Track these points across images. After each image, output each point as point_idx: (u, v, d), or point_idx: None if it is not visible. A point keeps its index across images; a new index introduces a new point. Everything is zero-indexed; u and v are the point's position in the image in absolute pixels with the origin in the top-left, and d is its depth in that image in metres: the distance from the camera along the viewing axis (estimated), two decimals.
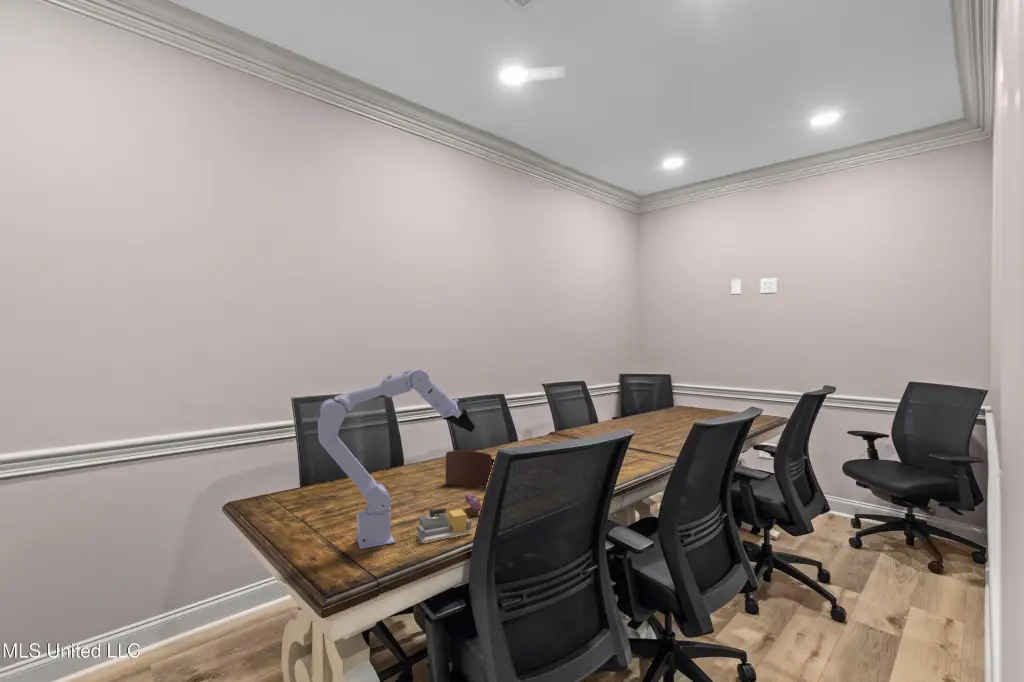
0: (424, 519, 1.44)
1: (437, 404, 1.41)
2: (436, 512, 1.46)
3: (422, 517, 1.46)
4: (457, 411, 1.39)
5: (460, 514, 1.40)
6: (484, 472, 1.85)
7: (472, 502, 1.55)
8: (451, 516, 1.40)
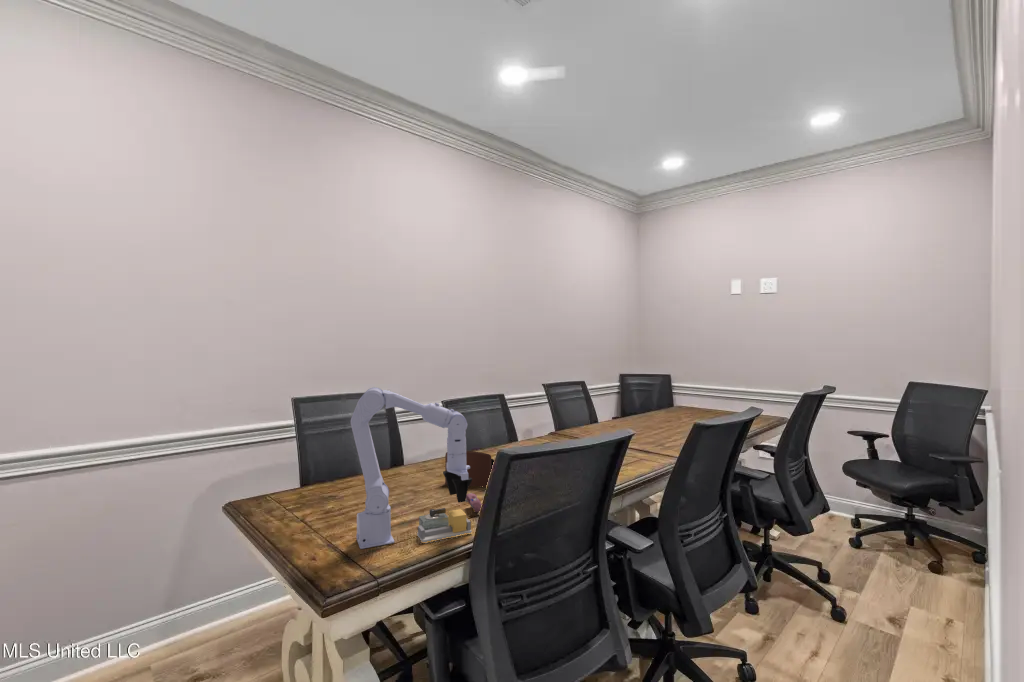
0: (424, 519, 1.44)
1: (454, 455, 1.39)
2: (436, 512, 1.46)
3: (422, 517, 1.46)
4: (466, 474, 1.35)
5: (460, 514, 1.40)
6: (483, 472, 1.85)
7: (472, 502, 1.55)
8: (451, 516, 1.40)
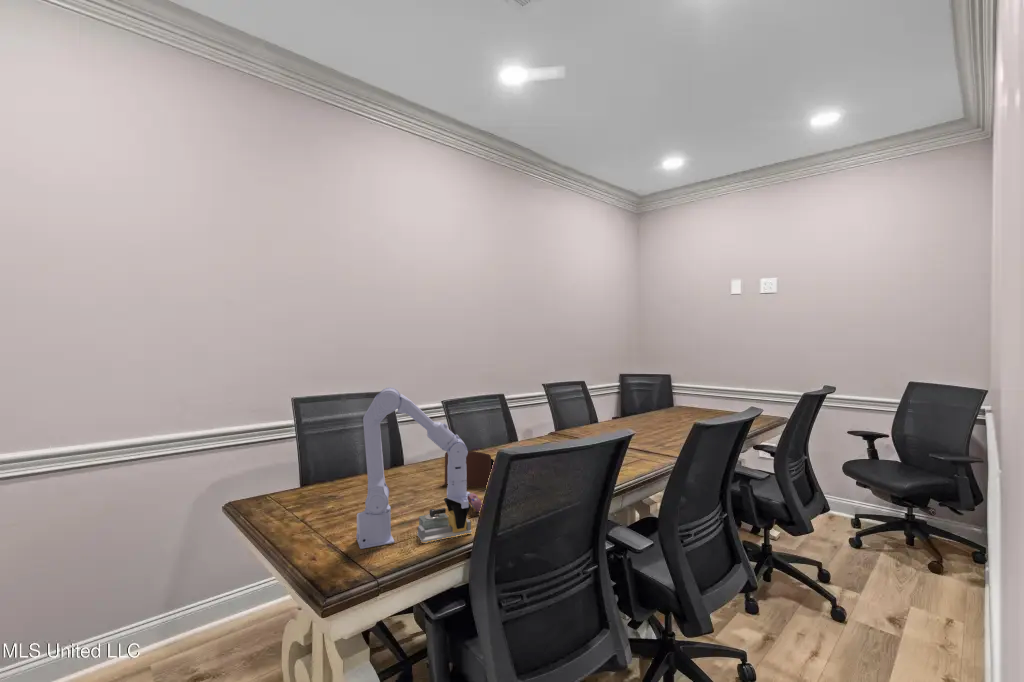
0: (424, 519, 1.44)
1: (454, 483, 1.39)
2: (436, 512, 1.46)
3: (422, 517, 1.46)
4: (466, 502, 1.35)
5: None
6: (483, 472, 1.85)
7: (473, 502, 1.56)
8: (451, 516, 1.40)
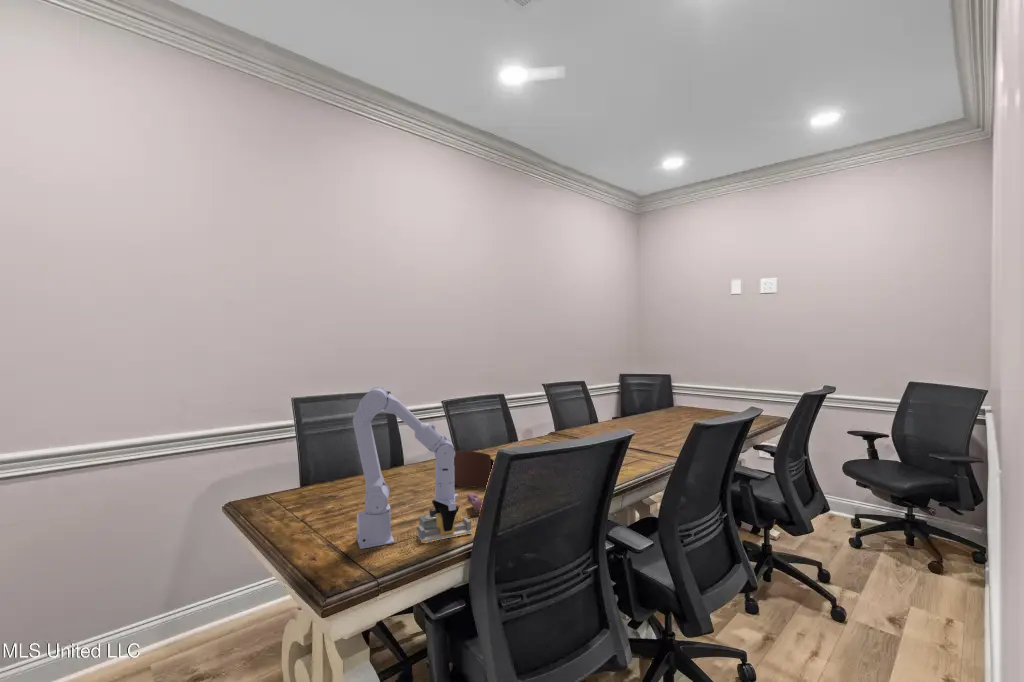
0: (424, 519, 1.44)
1: (442, 485, 1.37)
2: None
3: (422, 517, 1.46)
4: (454, 505, 1.33)
5: None
6: (483, 472, 1.85)
7: (474, 502, 1.56)
8: (439, 518, 1.38)
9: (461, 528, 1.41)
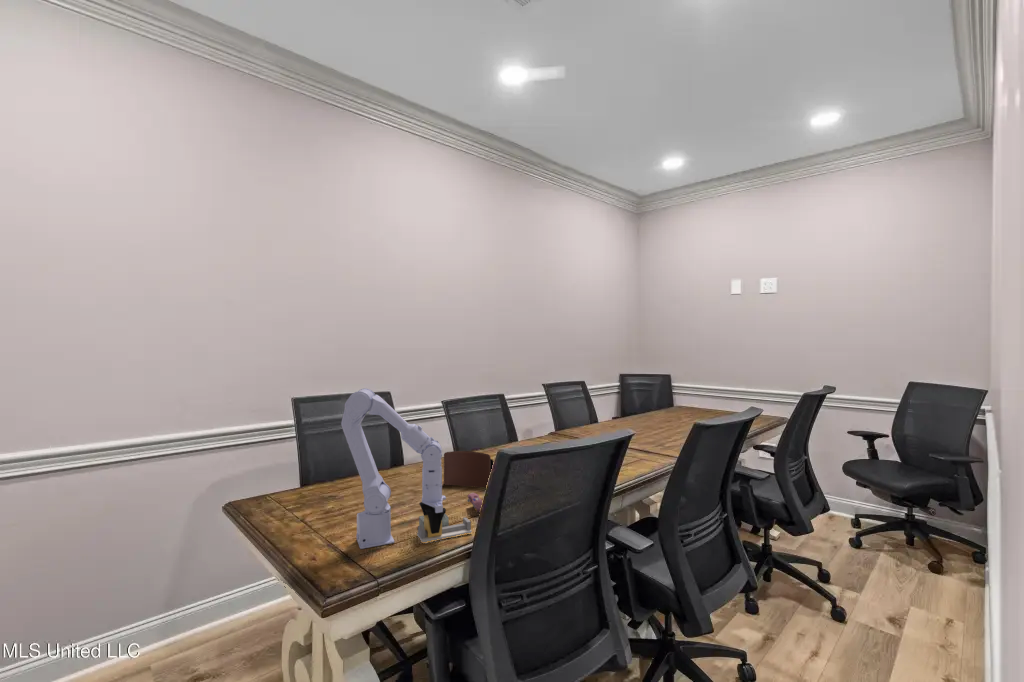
0: None
1: (429, 487, 1.35)
2: None
3: (422, 517, 1.46)
4: (440, 507, 1.32)
5: None
6: (482, 472, 1.85)
7: (475, 502, 1.56)
8: (426, 520, 1.37)
9: (461, 528, 1.41)
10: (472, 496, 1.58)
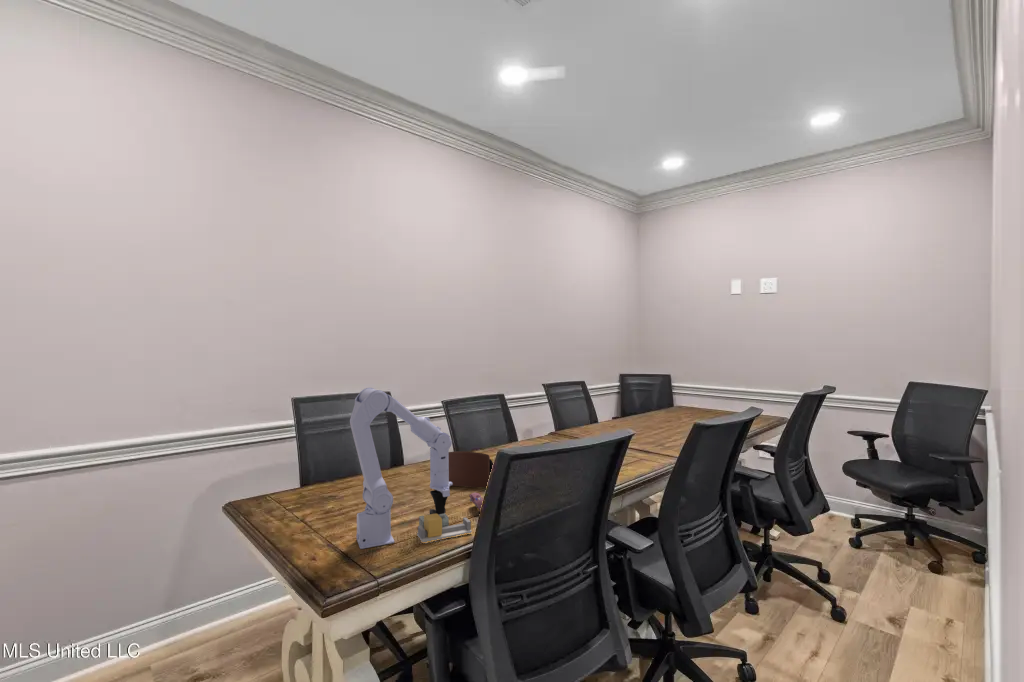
0: None
1: (436, 473, 1.44)
2: None
3: (422, 517, 1.46)
4: (447, 491, 1.40)
5: (435, 518, 1.37)
6: (482, 473, 1.85)
7: (477, 501, 1.56)
8: (426, 520, 1.37)
9: (461, 528, 1.41)
10: (474, 496, 1.59)
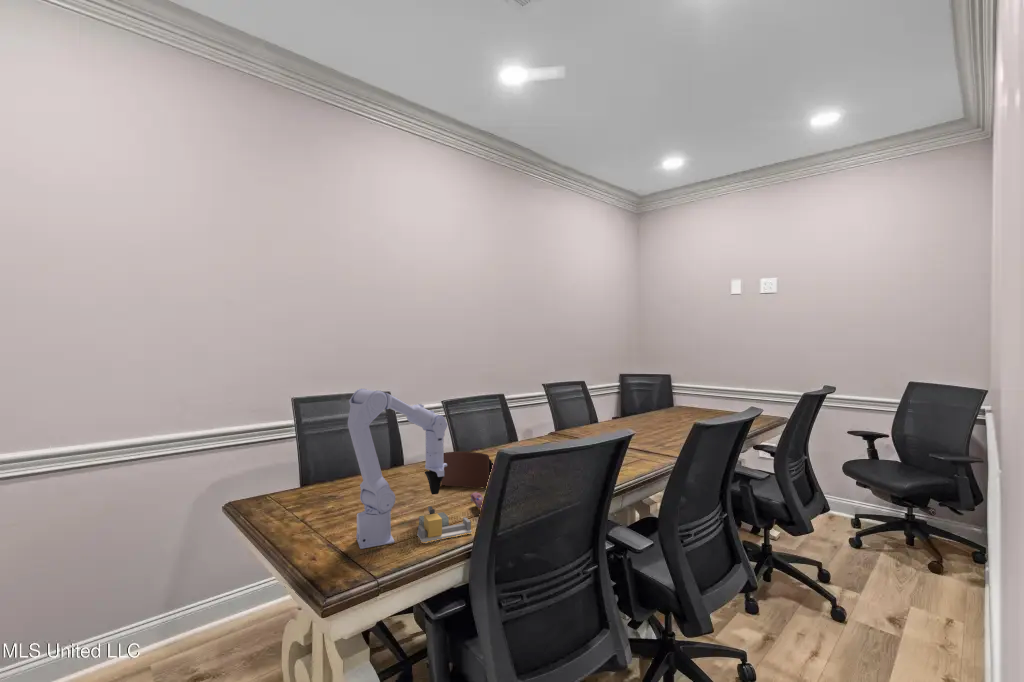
0: None
1: (431, 454, 1.49)
2: None
3: (422, 517, 1.46)
4: (442, 471, 1.45)
5: (435, 518, 1.37)
6: (481, 473, 1.85)
7: (478, 501, 1.56)
8: (426, 520, 1.37)
9: (461, 528, 1.41)
10: (475, 495, 1.59)
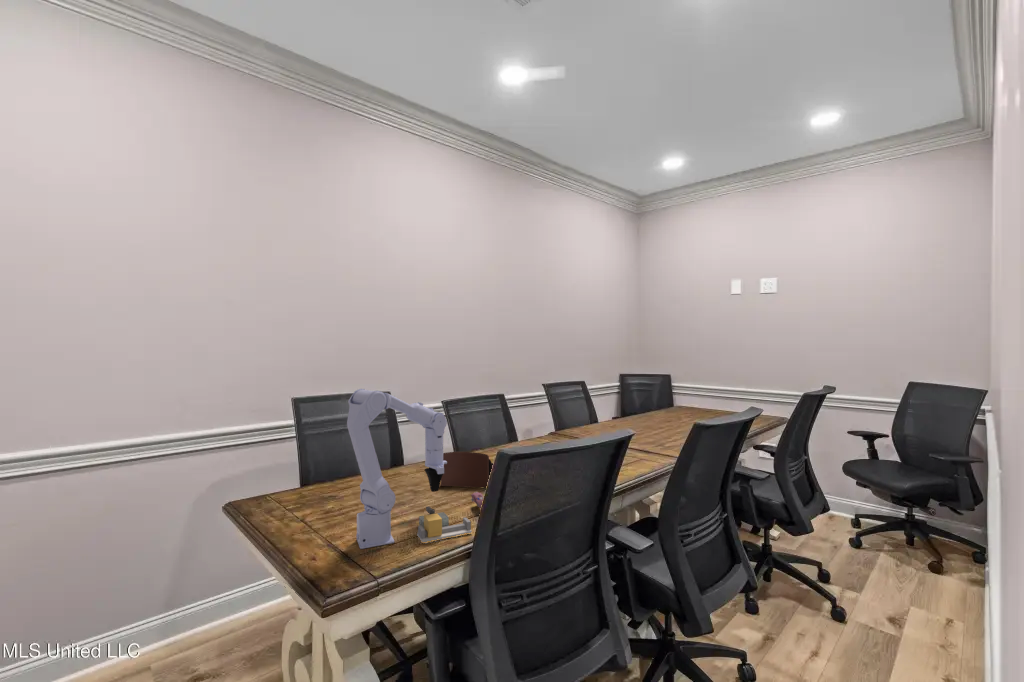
0: None
1: (431, 451, 1.49)
2: None
3: (422, 517, 1.46)
4: (442, 469, 1.45)
5: (435, 518, 1.37)
6: (481, 473, 1.85)
7: (479, 501, 1.56)
8: (426, 520, 1.37)
9: (461, 528, 1.41)
10: (476, 495, 1.59)
